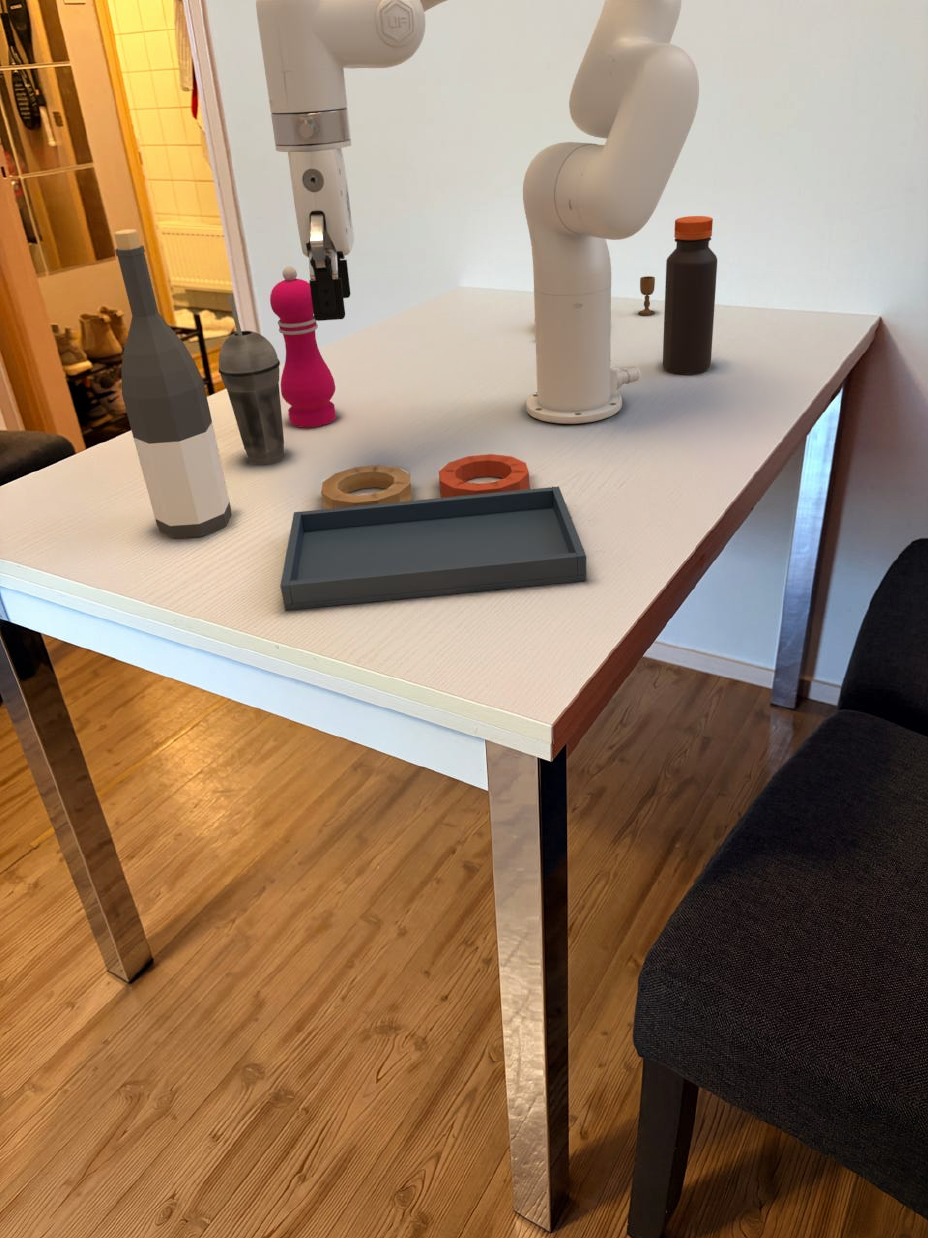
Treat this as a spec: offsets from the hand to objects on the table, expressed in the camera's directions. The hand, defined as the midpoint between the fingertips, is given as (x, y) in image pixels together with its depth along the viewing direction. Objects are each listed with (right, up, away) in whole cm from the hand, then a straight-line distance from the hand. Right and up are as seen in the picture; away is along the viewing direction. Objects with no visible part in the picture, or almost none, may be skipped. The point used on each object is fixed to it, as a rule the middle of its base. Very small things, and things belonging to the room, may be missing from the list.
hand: (333, 308), depth 104 cm
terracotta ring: (+16, -19, +3) cm, 25 cm away
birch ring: (+4, -20, +3) cm, 21 cm away
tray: (+11, -28, -10) cm, 31 cm away
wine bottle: (-15, -23, +1) cm, 28 cm away
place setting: (+36, +15, +56) cm, 68 cm away
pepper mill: (-6, -7, +27) cm, 28 cm away
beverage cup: (-10, -14, +16) cm, 23 cm away
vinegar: (+46, +2, +34) cm, 57 cm away
